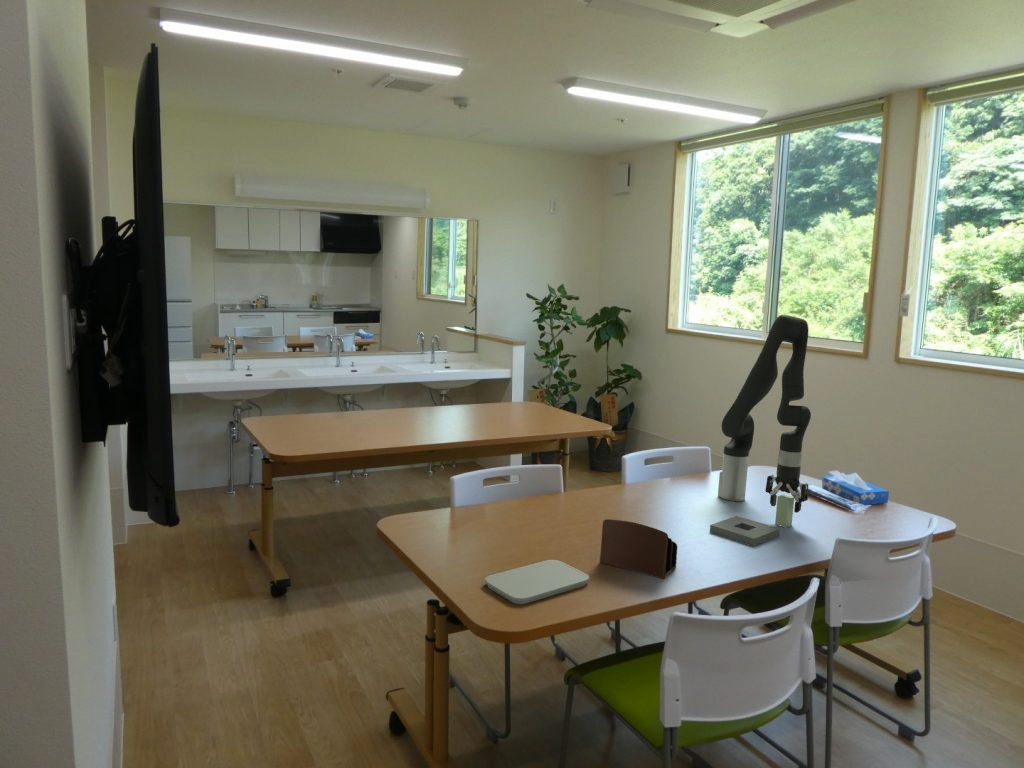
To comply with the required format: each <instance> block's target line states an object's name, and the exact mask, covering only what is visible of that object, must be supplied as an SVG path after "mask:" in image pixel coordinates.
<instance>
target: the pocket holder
mask: <svg viewBox="0 0 1024 768" xmlns="http://www.w3.org/2000/svg"><path fill="white" fill-rule="evenodd" d="M780 530H781V529H780V528H779V527H775V526H773V525H770V524H769V525H768V524H765V523H763V522H759V521H756V520H752V519H749V518H746V517H742V516H738V515H734V516H732V517H728V518H726V519H723V520H720V521H718V522H714V523H711V524H710V525H709V533H712V534H715V535H718V536H720V535H721V536H720V537H723V536H724V537H723V538H726V537H727V539H729V538H730V539H729V540H733V541H736V540H737V541H736V542H739V541H740V542H739V543H742V542H743V543H742V544H745V543H746V544H745V545H748V544H749V546H751V545H752V546H751V547H755V546H757V544H758V545H760V544H762V542H763V543H765V542H767V540H768V541H770V540H772V538H773V539H775V538H777V536H778V537H780V533H781V532H780ZM764 541H765V542H764ZM759 543H760V544H759ZM754 545H755V546H754Z"/></svg>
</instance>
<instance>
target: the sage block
mask: <svg viewBox="0 0 1024 768" xmlns="http://www.w3.org/2000/svg"><path fill="white" fill-rule="evenodd" d="M794 508H795V499H794V497H793V496H792V495H787V494H779V495H777V500H776V511H775V520H774V524H775V525H776V524H777V526H779V525H781V526H780V527H783V526H784V527H783V528H788V527H790V526H789V525H791V526H792V525H793V517H794V516H793V515H794ZM787 526H788V527H787Z"/></svg>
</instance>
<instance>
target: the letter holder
mask: <svg viewBox="0 0 1024 768" xmlns="http://www.w3.org/2000/svg"><path fill="white" fill-rule="evenodd" d="M600 540H601V544H600V556H599V563H600V564H604V565H608V566H611V567H615V568H619V569H623V570H627V571H631V572H635V573H639V574H644V575H646V576H651V577H653V578H658V579H662V580H664V579H666V578H667V577H668V576H669V575H670V574H672V572H674V570H676V569H677V561H678V558H677V555H678V545H677V542H676V541H673V540H672V538H670V537H669V535H668V533H666V532H665V531H663V530H660V529H658V528H655V527H652V526H649V525H645V524H641V523H637V522H633V521H627V520H619V519H610V518H609V519H608V518H607V519H604V520H603V521H602V529H601V539H600Z"/></svg>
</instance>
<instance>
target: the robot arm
mask: <svg viewBox="0 0 1024 768" xmlns="http://www.w3.org/2000/svg"><path fill="white" fill-rule="evenodd" d="M808 338H809V324H808V322H807V320H805V319H803V318H801V317H796V316H792V315H788V314H780V315H778V316H777V317H776V319H775V320H774V321H773V324H772V325H771V327H770V330H769V332H768V335H767V338H766V340H765V342H764V344H763V347H762V349H761V351H760V352H759V354H758V357H757V359H756V361H755V363H754V365H753V366H752V367H751V370H750V372H749V373H748V375H747V376H746V377H747V378H746V380H745V382H744V384H743V386H742V388H741V389H740V391H739V393H738V395H737V396H736V398H735V400H734V401H733V403H732V404H731V407H729V409H728V410H727V412H726V413H725V415H724V417H723V419H722V422H721V432H722V434H723V435H724V436H725V437H727V438H731V439H730V441H728V443H726V444H725V445H724V447H723V454H722V455H723V457H722V458H723V459H722V468H721V470H722V471H720V472H719V477H718V489H717V497H720V498H721V499H723V500H727V501H730V502H731V501H732V502H742V501H745V499H746V491H747V481H748V479H747V478H748V469H749V459H750V458H749V457H750V451H751V449H752V446H753V439H754V434H755V422H754V418H753V416H752V415H751V414H750V412H751V411H752V410H753V409H754V408H755V406H756V405H758V404H759V403H760V402H761V401H762V400H763V399H765V397H766V396H767V395H768V394H769V393H770V391H771V390H772V388H773V386H774V384H775V382H776V381H777V379H778V375H779V374H778V373H779V369H778V361H777V354H778V351H779V349H780V347H781V345H782V343H783V342H784V343H789V344H791V346H792V354H791V357H790V359H789V360H788V362H787V364H786V366H785V368H784V369H783V371H782V374H781V398H780V404H779V407H778V410H777V413H776V419H777V423H779V424H780V425H781V426H784V427H786V426H787V427H795V429H793V430H791V431H786V432H782V433H781V435H780V441H779V451H778V455H777V465H776V476H775V475H774V474H772V475H768V476H767V478H766V483H765V484H766V485H765V490H764V491H765V492H766V493H768V494H769V495H770V499H769V503H770V506H771V507H777V498H778V493H779V492H783V493H784V492H785V493H787V494H790V496H792V497H794V507H793V513H799V512H800V511H801V510H802V503H804V502H807V501H808V499H809V484H808V483H807V482H806V483H801V482H800V477H801V469H802V468H801V467H802V459H803V458H802V450H803V448H802V447H803V440H804V436H805V434H806V431H807V428H808V426H809V424H810V421H811V417H812V412H811V410H810V409H809V407H807V406H806V405H793V404H791V405H790V402H795V401H799V400H802V399H803V398H804V396H805V381H804V379H805V378H804V375H805V374H804V373H805V372H804V370H805V363H806V361H805V360H806V355H807V348H808V342H809V341H808ZM774 483H775V484H776V486H774ZM773 486H774V488H773ZM800 491H801V492H800Z"/></svg>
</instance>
